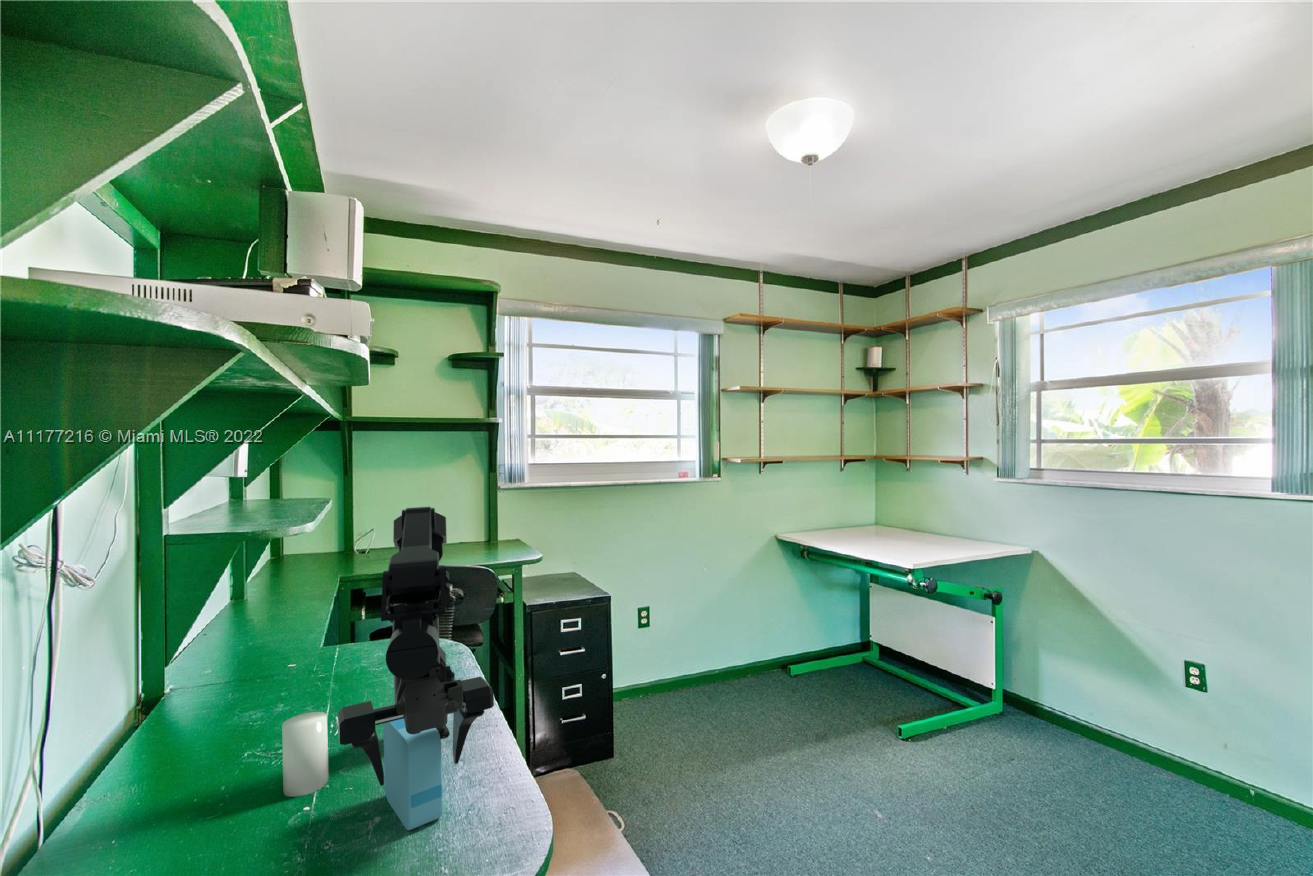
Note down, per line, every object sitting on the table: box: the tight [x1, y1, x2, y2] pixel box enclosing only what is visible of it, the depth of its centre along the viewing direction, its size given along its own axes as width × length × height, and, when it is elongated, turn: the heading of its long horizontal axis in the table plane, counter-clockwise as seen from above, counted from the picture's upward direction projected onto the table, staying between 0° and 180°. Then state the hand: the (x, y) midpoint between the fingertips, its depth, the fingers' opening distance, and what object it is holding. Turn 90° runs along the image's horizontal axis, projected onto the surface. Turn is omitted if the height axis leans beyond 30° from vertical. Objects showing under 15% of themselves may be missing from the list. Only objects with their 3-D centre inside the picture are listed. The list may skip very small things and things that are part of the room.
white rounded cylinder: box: [281, 711, 330, 798], centre depth 92 cm, size 6×6×10 cm
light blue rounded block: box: [382, 718, 444, 831], centre depth 84 cm, size 12×4×12 cm, turn 39°
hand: (420, 773), depth 78 cm, fingers open, 9 cm apart
